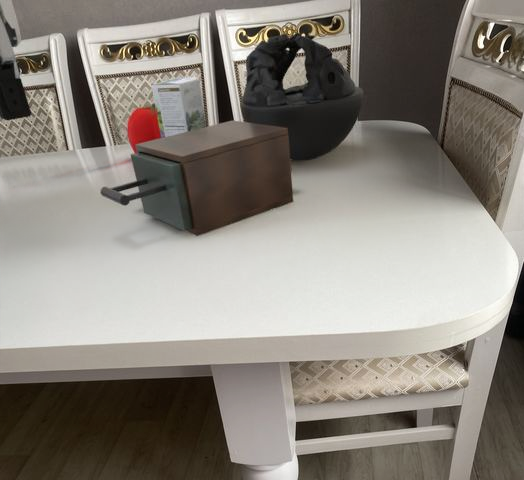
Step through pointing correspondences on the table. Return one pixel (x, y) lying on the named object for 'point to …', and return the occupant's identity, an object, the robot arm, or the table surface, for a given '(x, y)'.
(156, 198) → the drawer
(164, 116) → the syrup box
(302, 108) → the black sculpted bowl
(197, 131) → the cabinet
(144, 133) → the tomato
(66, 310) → the table surface
